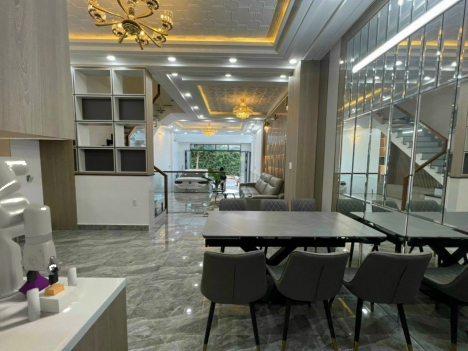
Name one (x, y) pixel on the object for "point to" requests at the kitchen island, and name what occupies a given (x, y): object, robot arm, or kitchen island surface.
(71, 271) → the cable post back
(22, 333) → the kitchen island surface
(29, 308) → the post
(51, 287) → the button
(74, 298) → the breaker box
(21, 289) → the perfume bottle
